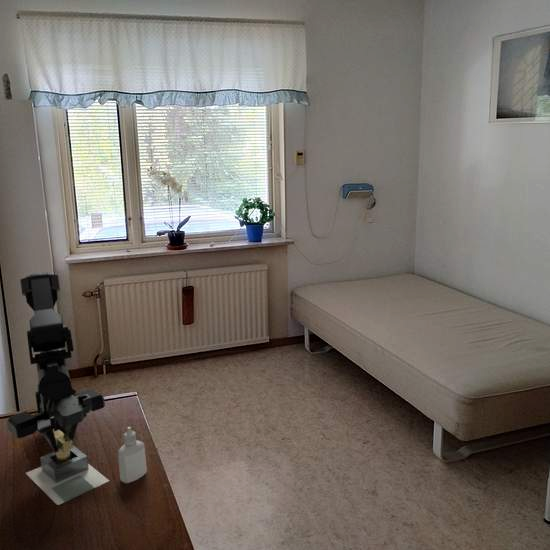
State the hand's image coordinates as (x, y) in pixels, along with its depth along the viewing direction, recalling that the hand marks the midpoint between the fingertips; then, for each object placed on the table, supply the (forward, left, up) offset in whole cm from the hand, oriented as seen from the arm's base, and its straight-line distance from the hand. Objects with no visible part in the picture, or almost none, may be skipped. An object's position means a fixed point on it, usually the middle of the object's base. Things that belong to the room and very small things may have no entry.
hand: (62, 448), depth 119 cm
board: (+3, -1, -6) cm, 7 cm away
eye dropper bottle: (+13, +9, -6) cm, 17 cm away
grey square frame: (0, 0, -5) cm, 5 cm away
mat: (+8, -2, -5) cm, 10 cm away
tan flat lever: (0, 0, -5) cm, 5 cm away
